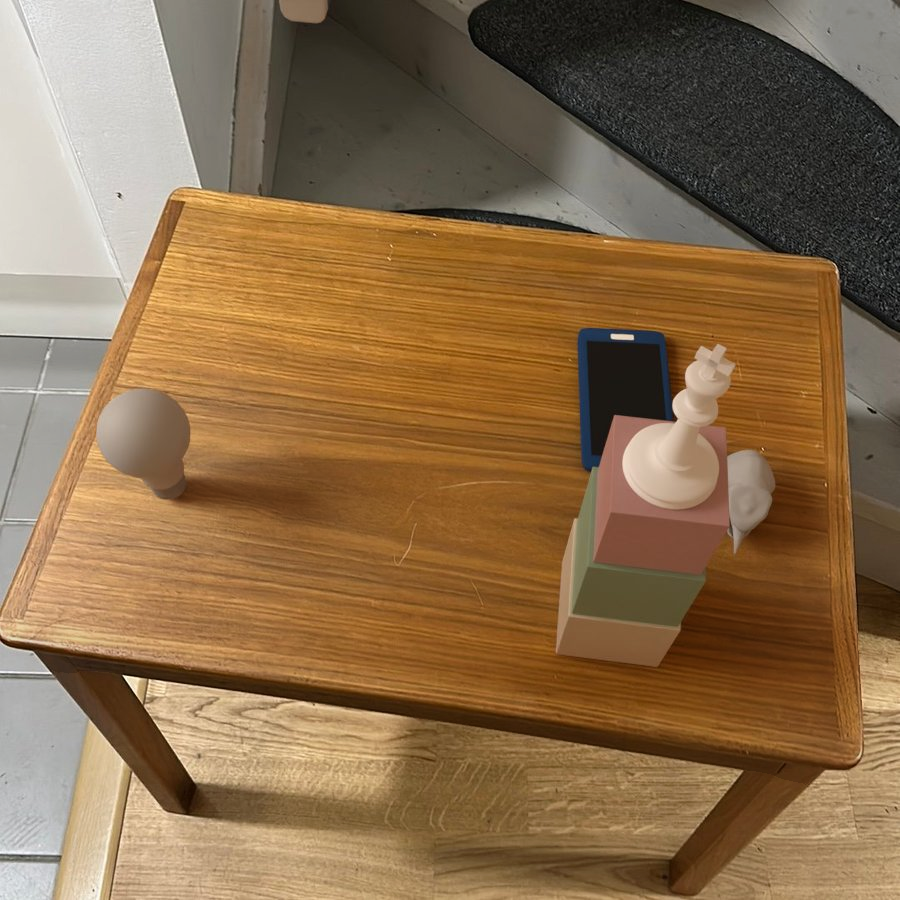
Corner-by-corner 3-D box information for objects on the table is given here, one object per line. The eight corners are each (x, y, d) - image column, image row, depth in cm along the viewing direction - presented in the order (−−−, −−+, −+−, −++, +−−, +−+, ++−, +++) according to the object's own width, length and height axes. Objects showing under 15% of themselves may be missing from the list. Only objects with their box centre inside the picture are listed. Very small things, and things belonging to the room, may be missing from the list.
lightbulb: (122, 471, 70) (75, 387, 61) (201, 445, 72) (166, 359, 62) (141, 537, 68) (94, 459, 58) (222, 509, 69) (189, 428, 60)
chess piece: (651, 413, 50) (695, 288, 41) (733, 459, 48) (797, 339, 40) (604, 477, 48) (641, 358, 39) (689, 527, 46) (746, 415, 38)
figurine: (764, 477, 71) (785, 444, 67) (755, 569, 67) (776, 540, 63) (715, 466, 72) (732, 432, 67) (702, 557, 67) (720, 526, 63)
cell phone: (663, 335, 78) (665, 330, 77) (677, 477, 71) (679, 472, 70) (576, 331, 78) (577, 325, 78) (581, 473, 71) (582, 468, 70)
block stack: (555, 654, 63) (600, 519, 46) (561, 562, 67) (605, 405, 50) (657, 667, 63) (740, 536, 46) (658, 574, 67) (735, 420, 50)
